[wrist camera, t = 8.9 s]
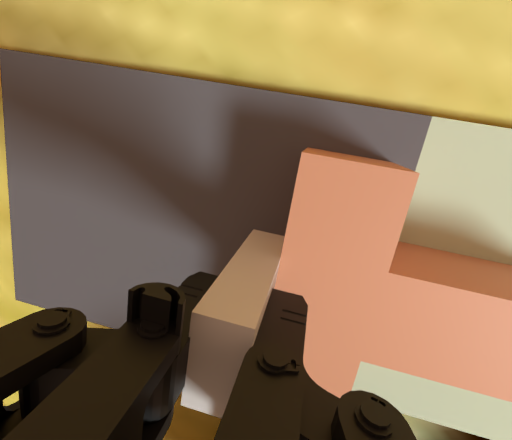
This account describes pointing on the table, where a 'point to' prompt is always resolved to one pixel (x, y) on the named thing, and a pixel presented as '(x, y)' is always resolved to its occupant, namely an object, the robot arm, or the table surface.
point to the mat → (223, 192)
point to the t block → (388, 284)
